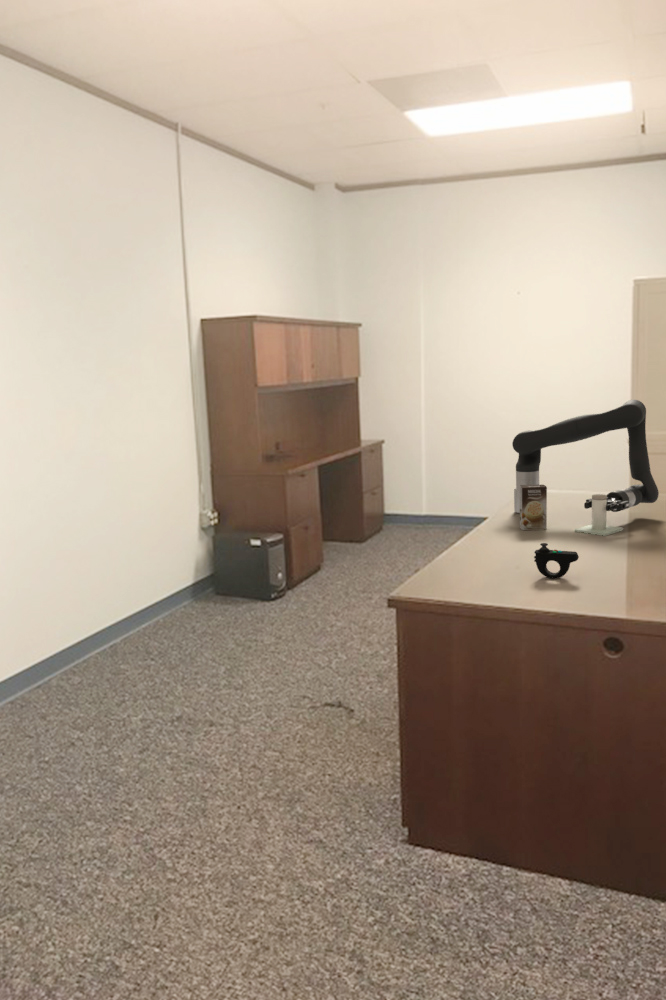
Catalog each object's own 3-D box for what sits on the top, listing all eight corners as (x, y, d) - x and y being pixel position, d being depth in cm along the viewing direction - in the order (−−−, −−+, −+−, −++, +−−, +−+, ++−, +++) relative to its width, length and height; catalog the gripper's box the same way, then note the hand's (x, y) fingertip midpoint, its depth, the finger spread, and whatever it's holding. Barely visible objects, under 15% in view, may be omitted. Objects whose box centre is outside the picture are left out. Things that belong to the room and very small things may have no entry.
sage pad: (574, 531, 286) (574, 529, 286) (593, 525, 294) (593, 523, 294) (604, 535, 277) (604, 533, 277) (623, 529, 285) (623, 527, 285)
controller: (536, 574, 234) (535, 541, 232) (579, 577, 228) (579, 543, 227) (533, 578, 230) (532, 544, 228) (577, 581, 224) (577, 547, 223)
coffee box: (521, 530, 293) (521, 487, 290) (519, 527, 299) (518, 484, 296) (547, 529, 292) (546, 486, 289) (544, 526, 298) (544, 483, 295)
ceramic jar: (588, 528, 286) (589, 495, 284) (596, 526, 289) (596, 493, 287) (601, 530, 282) (601, 497, 280) (609, 528, 285) (609, 495, 283)
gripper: (638, 512, 288) (614, 519, 278) (602, 508, 299) (578, 515, 289) (638, 491, 287) (614, 498, 277) (603, 488, 298) (578, 494, 288)
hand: (596, 506), depth 283 cm, fingers open, 8 cm apart
